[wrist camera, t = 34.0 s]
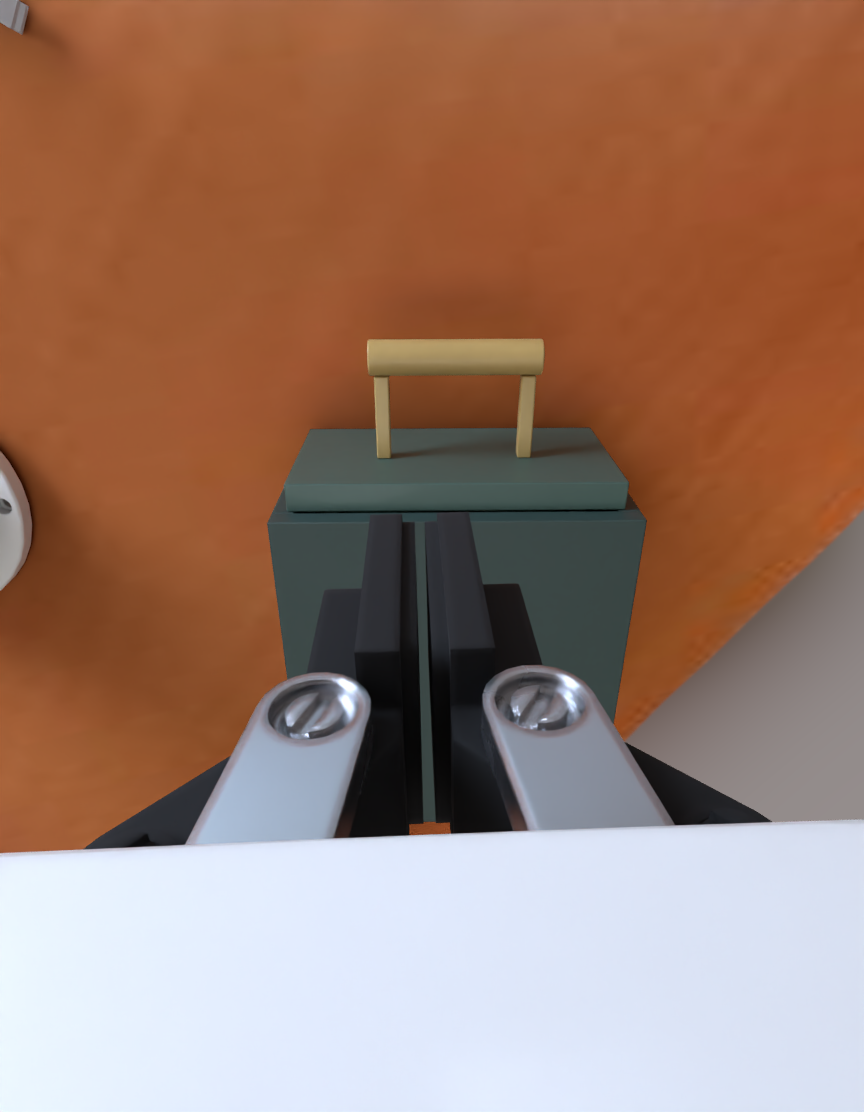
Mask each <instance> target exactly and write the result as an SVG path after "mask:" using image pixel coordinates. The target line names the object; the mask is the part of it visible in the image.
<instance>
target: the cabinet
mask: <svg viewBox="0 0 864 1112" xmlns="http://www.w3.org/2000/svg"><path fill="white" fill-rule="evenodd" d="M585 511H586V512H469V516H470V521H471V526H472V531H473V536H474V541H475V547H476V552H477V557H478V562H479V567H480V572H481V577H482V582H483V584H508V583H518V584H519V586H520V588H521V592H522V595H523V599H524V602H525V606H526V609H527V613H528V616H529V619H530V623H531V626H532V630H533V633H534V637H535V640H536V644H537V647H538V650H539V654H540V657H541V661H542V664H543V666H549V667H555V668H558V669H561V670H564V671H566V672H569V673H572V674H573V675H575V676H576V677H578V678H579V679H581V680H582V681H584V682H585V683H586V684H587V685H588V686H589V688H590V689H591V690H592V691H593V692H594V694H595V695H596V697H597V699H598V700H599V702H600V704H601V705H602V707H603V708H604V710H605V712H606V713H607V715H608V717H609V718H610V720H611V721H612V723H613V724H614V718H615V712H616V706H617V699H618V693H619V687H620V681H621V675H622V669H623V663H624V657H625V651H626V644H627V638H628V632H629V626H630V620H631V614H632V608H633V602H634V596H635V589H636V583H637V577H638V571H639V565H640V559H641V553H642V547H643V541H644V534H645V528H646V522H647V520H646V519H645V517H644V516H643V514H642V513H641V512H640V510H639V508H638V507H637V505H636V504H635V502H634V501H633V499H632V498H631V497H630V495H629V494H627V501H626V508H625V509H624V510H585ZM380 514H402V521H403V522H415V547H416V577H417V607H418V637H419V669H420V706H421V744H422V782H423V820H424V822H436V819H435V797H434V775H433V754H432V732H431V710H430V688H429V665H428V630H427V591H426V551H425V521H437V513H320V512H288V511H287V508H286V499H285V490H284V489H283V491H282V493H281V495H280V497H279V499H278V502H277V504H276V506H275V508H274V510H273V512H272V514H271V516H270V519H269V521H268V523H267V525H268V533H269V540H270V548H271V556H272V564H273V571H274V579H275V587H276V594H277V602H278V610H279V618H280V625H281V633H282V641H283V649H284V656H285V664H286V672H287V680H288V679H290V678H293V677H295V676H300V675H304V674H306V673H307V669H308V664H309V659H310V655H311V650H312V645H313V640H314V636H315V631H316V626H317V621H318V617H319V612H320V607H321V602H322V598H323V594H324V591H325V590H326V589H353V588H362V581H363V572H364V563H365V555H366V546H367V538H368V529H369V521H370V515H380Z"/></svg>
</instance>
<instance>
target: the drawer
mask: <svg viewBox="0 0 864 1112" xmlns="http://www.w3.org/2000/svg"><path fill="white" fill-rule="evenodd" d="M544 357H545V349H544V342H543V339H372V340H368V343H367V364H368V373H369V375H370V376H374V394H375V417H376V429H310V431H309V433H308V435H307V438H306V440H305V442H304V444H303V446H302V448H301V450H300V452H299V454H298V456H297V459H296V461H295V463H294V465H293V467H292V469H291V471H290V473H289V475H288V478H287V480H286V482H285V484H284V490H285V499H286V508H287V511H288V512H320V513H447V512H586V511H585V510H624V509H625V508H626V501H627V494H628V487H629V482H628V480H627V479H626V478H625V476H624V475H623V473H622V472H621V471H620V469H619V468H618V466H617V465H616V464H615V462H614V461H613V459H612V458H611V456H610V455H609V454H608V452H607V451H606V449H605V448H604V447H603V445H602V444H601V442H600V441H599V440H598V438H597V437H596V435H595V434H594V433H593V431H592V430H591V428H533V418H534V404H535V390H536V376H535V375H541V374H542V371H543V367H544ZM409 375H520V387H519V404H518V421H517V428H430V429H391V418H390V386H389V376H409Z"/></svg>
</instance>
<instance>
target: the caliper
mask: <svg viewBox="0 0 864 1112" xmlns="http://www.w3.org/2000/svg"><path fill="white" fill-rule="evenodd" d="M28 9H29V7H28V6H27V5H25V4H24V3H22V2H21V1H19V0H0V23H2V24H4V25H5V26H7V27H9V28H11V29H13V30H15V31H16V32H18V33H20V34H23V30H24V26H25V22H26V18H27V13H28Z"/></svg>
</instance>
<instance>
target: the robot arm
mask: <svg viewBox="0 0 864 1112" xmlns="http://www.w3.org/2000/svg"><path fill="white" fill-rule="evenodd" d="M31 536H32V520H31V514H30V507H29V503H28V500H27V497H26V495H25V492H24V489H23V486H22V484H21V482H20V480H19V478H18V476H17V475H16V473H15V471H14V469H13V468H12V466H11V464H10V462H9V461H8V460H7V459H6V457H5V456H4V455H3V454H2V452H1V451H0V590H2V589H3V588H4V587H5V586H6V585H7V584H8V583H9V582H10V581H11V580H12V579H13V578H14V577H15V576H16V575H17V573H18V572H19V570H20V569H21V567H22V566H23V564H24V563H25V561H26V558H27V555H28V552H29V549H30V546H31ZM425 551H426V591H427V630H428V665H429V688H430V710H431V732H432V754H433V775H434V797H435V819H436V823H447V822H450V830H451V834H433V835H409V824H421V823H424V820H423V782H422V744H421V706H420V669H419V637H418V607H417V577H416V547H415V522H403V521H402V514H380V515H370V521H369V529H368V538H367V546H366V555H365V563H364V572H363V581H362V588H353V589H326V590H325V591H324V594H323V598H322V602H321V607H320V612H319V617H318V621H317V626H316V631H315V636H314V640H313V645H312V650H311V655H310V659H309V664H308V669H307V673H306V674H304V675H300V676H295V677H293V678H290V679H288V680H286V681H284V682H281V683H279V684H278V685H276V686H275V687H274V688H272V689H271V690H270V691H268V692H267V693H266V694H265V695H264V697H263V698H262V699H261V701H260V702H259V703H258V705H257V707H256V709H255V711H254V713H253V714H252V716H251V718H250V720H249V722H248V724H247V726H246V728H245V730H244V732H243V734H242V736H241V738H240V740H239V741H238V743H237V745H236V747H235V749H234V751H233V753H232V755H231V756H230V757H228V758H226V759H225V760H223V761H221V762H220V763H218V764H217V765H215V766H213V767H212V768H210V769H209V770H207V771H205V772H204V773H202V774H200V775H199V776H197V777H196V778H194V779H192V780H191V781H189V782H188V783H186V784H184V785H183V786H181V787H179V788H178V789H176V790H175V791H173V792H171V793H170V794H168V795H167V796H165V797H163V798H162V799H160V800H158V801H157V802H155V803H154V804H152V805H150V806H149V807H147V808H146V809H144V810H142V811H141V812H139V813H137V814H136V815H134V816H133V817H131V818H129V819H128V820H126V821H125V822H123V823H121V824H120V825H118V826H117V827H115V828H113V829H112V830H110V831H108V832H107V833H105V834H104V835H102V836H100V837H99V838H97V839H96V840H95V841H93V842H92V843H91V844H90V845H88V846H87V847H86V848H84V849H83V850H63V851H41V852H19V853H0V1112H864V819H856V820H855V819H854V820H825V821H794V822H772V821H770V820H768V819H767V818H766V817H764V816H763V815H761V814H760V813H758V812H756V811H755V810H753V809H751V808H749V807H747V806H745V805H743V804H741V803H739V802H737V801H736V800H734V799H732V798H730V797H728V796H726V795H724V794H722V793H720V792H718V791H716V790H715V789H713V788H711V787H709V786H707V785H705V784H703V783H701V782H700V781H698V780H696V779H694V778H692V777H690V776H688V775H686V774H684V773H682V772H681V771H679V770H676V769H675V768H673V767H671V766H669V765H667V764H665V763H663V762H662V761H660V760H658V759H656V758H654V757H652V756H650V755H648V754H646V753H644V752H643V751H641V750H639V749H637V748H635V747H633V746H631V745H629V744H627V743H625V742H624V741H623V739H622V738H621V736H620V734H619V733H618V731H617V730H616V728H615V726H614V725H613V723H612V721H611V720H610V718H609V717H608V715H607V713H606V712H605V710H604V708H603V707H602V705H601V704H600V702H599V700H598V699H597V697H596V695H595V694H594V692H593V691H592V690H591V689H590V688H589V686H588V685H587V684H586V683H585V682H584V681H582V680H581V679H579V678H578V677H576V676H575V675H573V674H572V673H569V672H566V671H564V670H561V669H558V668H555V667H549V666H543V664H542V661H541V657H540V654H539V650H538V647H537V644H536V640H535V637H534V633H533V630H532V626H531V623H530V619H529V616H528V613H527V609H526V606H525V602H524V599H523V595H522V592H521V588H520V586H519V584H518V583H508V584H483V582H482V577H481V572H480V567H479V562H478V557H477V552H476V547H475V541H474V536H473V531H472V526H471V521H470V516H469V512H447V513H437V521H425Z"/></svg>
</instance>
